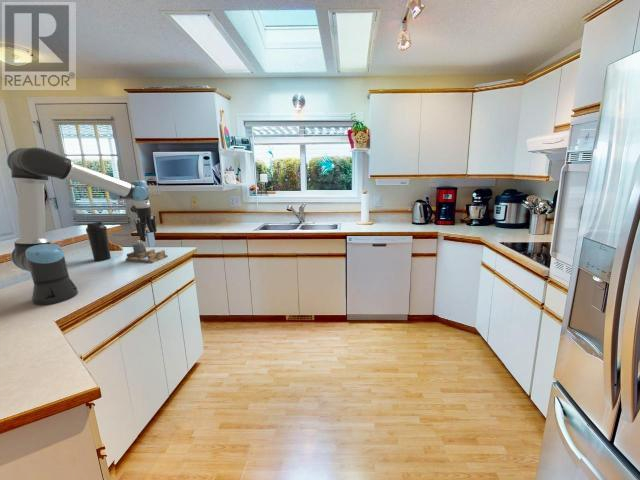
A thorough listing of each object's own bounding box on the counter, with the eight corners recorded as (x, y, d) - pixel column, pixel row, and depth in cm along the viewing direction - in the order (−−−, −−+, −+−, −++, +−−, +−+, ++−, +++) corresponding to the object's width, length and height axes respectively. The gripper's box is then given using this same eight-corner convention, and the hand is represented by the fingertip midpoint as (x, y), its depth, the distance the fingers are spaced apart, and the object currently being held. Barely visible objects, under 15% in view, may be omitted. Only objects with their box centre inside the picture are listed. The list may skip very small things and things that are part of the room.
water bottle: (116, 256, 189) (109, 221, 184) (103, 261, 180) (95, 224, 174) (101, 256, 190) (94, 221, 185) (88, 261, 181) (80, 224, 175)
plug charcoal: (134, 257, 183) (132, 241, 181) (140, 255, 187) (138, 239, 185) (140, 257, 182) (138, 241, 180) (146, 255, 186) (144, 240, 184)
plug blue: (143, 246, 180) (140, 230, 177) (149, 244, 184) (146, 228, 181) (149, 247, 178) (147, 230, 176) (155, 245, 183) (153, 229, 180)
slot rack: (152, 262, 176) (151, 256, 175) (125, 260, 182) (124, 253, 181) (167, 256, 188) (166, 250, 187) (141, 254, 193) (140, 248, 192)
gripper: (135, 209, 166) (142, 249, 172) (159, 205, 182) (165, 241, 188) (124, 209, 168) (132, 248, 174) (149, 204, 184) (155, 241, 190)
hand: (149, 245), depth 181 cm, fingers closed on plug blue, 4 cm apart
